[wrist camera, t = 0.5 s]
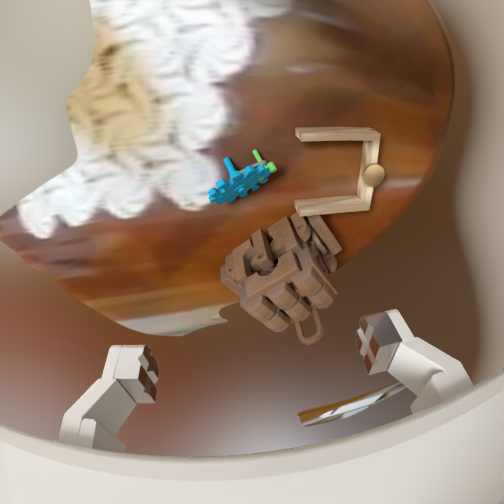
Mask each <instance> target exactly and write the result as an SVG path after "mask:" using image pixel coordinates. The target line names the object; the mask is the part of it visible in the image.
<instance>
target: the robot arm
mask: <svg viewBox="0 0 504 504" xmlns="http://www.w3.org/2000/svg"><path fill="white" fill-rule="evenodd" d="M359 325H360V327H361V328H360V329H359V330H358V331H357V334H356V344H357V348H358V350H359V353H360V354H362V355H363V356H365V358H364V361H363V363H364V365H365V367H366V370H367V372H368V375H370V374H374V373H378V372H382V371H386V370H388V372H389V373H390V374H391V375H393V376H394V377H395V378H396V379H398V380H399V381H400V382H401V383H402V384H404V385H405V386H406V387H407V388H409V389H410V390H411V391H412V392H414V393H415V394H416V395H417V396H418V397H417V398H416V400H415V401H414V402H413V404H412V405H411V410H412V413H413V415H410V416H408V417H405V418H403V419H400V420H397V421H394V422H391V423H389V424H386V425H383V426H380V427H377V428H373V429H370V430H367V431H364V432H360V433H357V434H353V435H349V436H346V437H342V438H338V439H334V440H330V441H325V442H321V443H316V444H312V445H307V446H301V447H295V448H290V449H283V450H276V451H269V452H261V453H252V454H242V455H228V456H207V457H175V456H151V455H138V454H128V453H124V444H123V443H122V442H121V441H119V440H118V439H117V438H115V437H114V436H115V434H116V433H117V431H118V430H119V429H120V427H121V426H122V424H123V423H124V421H125V420H126V419H127V417H128V416H129V414H130V413H131V411H132V410H133V409H134V407H135V406H136V403H155V402H156V395H157V388H156V386H155V385H154V384H155V383H156V381H157V380H158V378H159V369H158V363H157V361H156V359H155V357H153V356H152V355H150V354H151V349H150V348H149V346H148V345H113V346H111V348H110V349H109V353H108V356H107V360H106V364H105V367H104V371H103V375H102V379H98V380H97V381H96V382H95V383H94V384H93V385H92V386H91V387H90V388H89V389H88V390H87V391H86V392H85V393H84V394H83V395H82V396H81V397H80V398H79V399H78V400H77V402H76V403H75V404H74V405H73V406H72V407H71V408H70V409H69V410H68V411H67V412H66V413H65V414H64V418H63V422H62V426H61V430H60V435H59V439H58V441H55V440H51V439H47V438H43V437H40V436H36V435H33V434H29V433H26V432H23V431H20V430H17V429H14V428H12V427H9V426H6V425H2V424H0V504H504V369H502V370H501V371H499V372H497V373H496V374H494V375H492V376H491V377H489V378H487V379H486V380H484V381H482V382H480V383H479V384H477V385H475V386H473V384H472V382H471V380H470V378H469V376H468V375H467V373H466V371H465V369H464V368H463V366H462V364H461V363H460V362H459V361H457V360H456V359H454V358H452V357H450V356H449V355H447V354H445V353H444V352H442V351H440V350H439V349H437V348H435V347H434V346H432V345H430V344H428V343H427V342H425V341H423V340H421V339H420V338H418V337H416V338H414V336H413V335H412V333H411V331H410V329H409V328H408V326H407V324H406V323H405V321H404V320H403V318H402V316H401V315H400V313H399V311H398V310H396V309H394V310H390V311H385V312H380V313H376V314H371V315H367V316H363V317H361V319H360V322H359Z"/></svg>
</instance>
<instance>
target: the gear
mask: <svg viewBox="0 0 504 504" xmlns="http://www.w3.org/2000/svg"><path fill="white" fill-rule="evenodd" d="M252 152H253V154H254V156H255V158H256V159H257V161H258V163H256V164H253V165H251V166H248V167H246V168H245V169H243V170H241V171H236V170H235V168H234V166H233V164H232V162H231V160H230V158H229V157H227V158H225V159H224V160H223V161H224V163H225V165H226V167H227V169H228V171H229V173H230V180H229V181H228V182H225V180H224V179H221V180H220V181H218V182H217V183H216V185H217V187H218V189H216V188H212V189H211V190H210V191H209V192H208V194H209V199H210V202H211V203H214V202H216V203H217V204H222V203H223V202H224V201H225V200H227V202H232V201H234V200H235V198H236V197H237V196H238V195H239V196H240V198H242V197H244V196H247V195H248V194H247V191H248V190H249V189H252V191H255V190H256V189H258V188H260V187H259V185H258V182H261V183H265V182H266V181H267V180H268V178H267V177H268V176H269V175H270V173H273V172H275V171H276V170H277V169H276V167H275V165H274V163H273V162H270V163H267V162H266V160H262V159H261V157H260V155H259V153H258V151H257V150H256V149H255V150H253V151H252ZM268 168H269V169H268ZM269 170H270V171H269Z"/></svg>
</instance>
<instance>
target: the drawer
mask: <svg viewBox="0 0 504 504" xmlns="http://www.w3.org/2000/svg"><path fill="white" fill-rule="evenodd" d="M295 135H296V136H297V137H298V138H299V139H300V141H301V142H303V141H339V140H362V141H363V148H362V157H361V166H360V174H359V182H358V190H357V195H352V196H338V197H326V198H314V199H302V200H295V208H296V210H297V212H298V214H299V217H302V216H311V215H321V214H332V213H342V212H353V211H365V210H369V209H370V204H371V198H372V192H373V187H375V186H378V185H379V184H380V183H381V182H382V181H383V179H384V176H385V172H384V169H383V168H382V167H381V166H380V165H378V164H377V159H378V152H379V144H380V135H381V134H380V133H378V132H377V131H375V130H374V129H372V128H369V127H299V128H295Z"/></svg>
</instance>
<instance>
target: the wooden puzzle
mask: <svg viewBox="0 0 504 504" xmlns="http://www.w3.org/2000/svg"><path fill="white" fill-rule="evenodd" d="M290 217H291V220H292V222H293V224H294V226H293V224H292V222H291V221H290V220H289V218H288V217H287V216H285V217H284V218H282V219H281V220H279V221H278V222H276V223H275V224H273V225H272V226H270V227H269V228H268V231H269V234H270V235H271V237H272V238H273V240H272V242H271V243H270V245H269V243H268V239H267V235H266V234H265V233H264V232H263V231H262V230H261V229H259V230H257V231H256V232H254V233H253V234H251V236H252V240H251V239H249V240H247V241H246V242H244V243H243V244H241V245H240V246H238V247H237V248H235V249H234V250H233V252H232V253H231V254H229V255H228V256H226V257H225V265H223V266H222V267H221V268H220V270H221V282H222V283H223V284H224V285H226V286H227V287H228V288H229V289H231V290H232V291H233V292H234V293H236V294H237V295H238V296H239V297H240V304H241V307H242V308H243V309H244V310H246V311H247V312H248V313H249V314H251V315H252V316H253V317H255V318H256V319H258V320H259V321H261V322H262V323H263V324H265V325H266V326H267V327H269V328H270V329H271V330H273V331H274V332H281V331H284V330H285V329H286V328H287V327H288V326H289V325H290V324H292V323H295V326H296V330H297V333H298V337H299V339H300V341H301V342H302V343H304V344H312V343H315V342H317V341H318V340H319V339H320V338H321V337H322V335H323V332H324V328H323V324H322V321H321V318H320V315H319V312H318V309H322V308H327V307H329V305H330V304H331V303H332V302H333V301H334V296H335V295H337V294H338V292H337V290H336V287H335V285H334V283H333V280H332V278H331V277H330V275H329V274H328V271H327V268H328V269H329V270H330V272H331V273H333V272H334V271H335V270H336V268H337V260H336V258H335V256H334V255H335V254H337V253H338V252H340V251H342V248H341V246H340V244H339V242H338V241H337V239H336V237H335V235H334V234H333V232H332V231H331V229H329V228H328V226H327V225H326V223H325V221H324V220H323V218H322V217H321V215H311V216H307V218H308V220H309V221H308V222H307V221H306V219H305V217H304V216H302V217H299V214H298V212H296V213H295V214H293V215H292V216H290ZM314 229H315V230H314ZM315 231H316V232H317V233H318V234H316V232H315ZM324 243H325V244H324ZM319 251H320V253H321V255H322V257H323V259H322V257H321V255H320V253H319ZM279 257H280V258H279ZM276 259H278V264H277V262H276V261H275V260H276ZM323 260H324V262H325V264H326V266H327V268H326V266H325V264H324V262H323ZM273 261H274V262H273ZM257 271H258V272H257ZM304 296H305V297H304ZM302 297H304V298H303V299H302ZM311 313H313V316H314V319H315V322H316V325H317V333H316V334H315V335H314V336H312V337H310V338H305V335H304V332H303V329H302V325H301V322H300V321H302V320H305V319H306V318H307V317H308V316H309V315H310V314H311Z"/></svg>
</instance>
